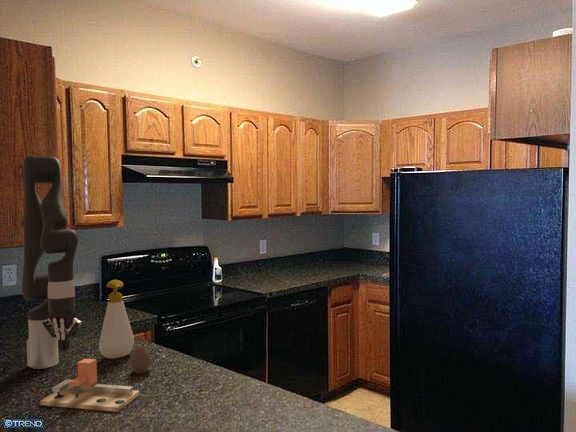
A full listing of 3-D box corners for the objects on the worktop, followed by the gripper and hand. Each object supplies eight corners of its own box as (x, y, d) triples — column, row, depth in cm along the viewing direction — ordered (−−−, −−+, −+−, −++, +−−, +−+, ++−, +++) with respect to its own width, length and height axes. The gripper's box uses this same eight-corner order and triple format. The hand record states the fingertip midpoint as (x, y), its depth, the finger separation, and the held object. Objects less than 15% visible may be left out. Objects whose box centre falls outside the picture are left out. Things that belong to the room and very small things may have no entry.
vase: (129, 376, 164) (129, 350, 164) (130, 369, 171) (130, 344, 171) (151, 373, 166) (150, 348, 166) (151, 367, 173) (150, 342, 172)
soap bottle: (103, 364, 176) (100, 284, 175) (96, 356, 185) (94, 280, 183) (139, 357, 183) (137, 280, 182) (131, 350, 192) (129, 276, 190)
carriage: (68, 398, 143) (67, 368, 143) (85, 386, 152) (84, 358, 151) (80, 399, 142) (79, 368, 142) (97, 387, 151) (96, 359, 150)
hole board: (40, 404, 143) (40, 400, 143) (67, 388, 154) (66, 384, 154) (117, 411, 137) (117, 407, 137) (139, 394, 149) (139, 390, 149)
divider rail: (48, 397, 145) (48, 387, 145) (65, 387, 152) (65, 377, 152) (119, 403, 140) (118, 392, 140) (133, 393, 147) (132, 382, 147)
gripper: (33, 297, 147) (36, 354, 148) (72, 298, 145) (75, 356, 145) (50, 292, 155) (53, 346, 155) (88, 293, 152) (90, 348, 153)
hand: (63, 351), depth 150 cm, fingers closed
